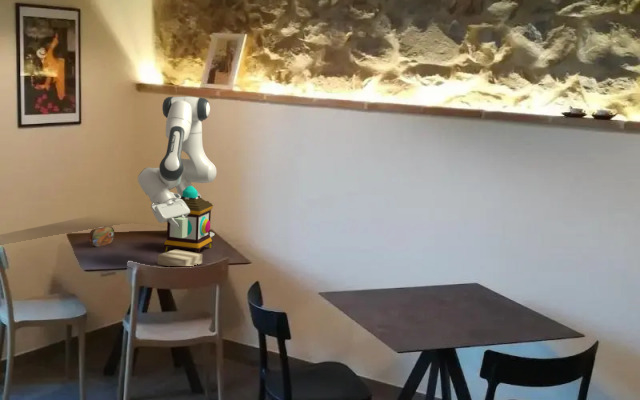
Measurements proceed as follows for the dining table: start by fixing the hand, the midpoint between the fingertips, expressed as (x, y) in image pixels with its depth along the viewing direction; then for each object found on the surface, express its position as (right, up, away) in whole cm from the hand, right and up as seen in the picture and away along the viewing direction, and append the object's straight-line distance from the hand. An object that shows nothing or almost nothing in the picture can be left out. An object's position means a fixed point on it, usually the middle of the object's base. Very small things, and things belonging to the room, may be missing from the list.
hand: (182, 226), depth 330 cm
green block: (-1, -4, +1) cm, 5 cm away
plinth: (-1, -16, +3) cm, 16 cm away
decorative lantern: (-2, -12, +28) cm, 31 cm away
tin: (-42, -10, +27) cm, 51 cm away
